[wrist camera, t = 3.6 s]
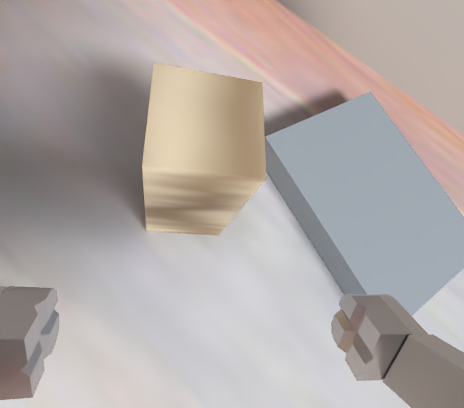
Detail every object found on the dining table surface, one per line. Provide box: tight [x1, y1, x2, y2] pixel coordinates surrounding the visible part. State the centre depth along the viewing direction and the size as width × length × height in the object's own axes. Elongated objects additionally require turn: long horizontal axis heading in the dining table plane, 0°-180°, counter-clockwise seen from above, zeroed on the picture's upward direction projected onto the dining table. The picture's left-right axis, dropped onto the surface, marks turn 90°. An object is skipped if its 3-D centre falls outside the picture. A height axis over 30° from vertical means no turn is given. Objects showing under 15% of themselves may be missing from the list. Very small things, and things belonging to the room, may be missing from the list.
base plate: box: [265, 92, 464, 316], centre depth 25 cm, size 16×12×3 cm
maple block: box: [142, 63, 266, 235], centre depth 17 cm, size 5×5×10 cm
